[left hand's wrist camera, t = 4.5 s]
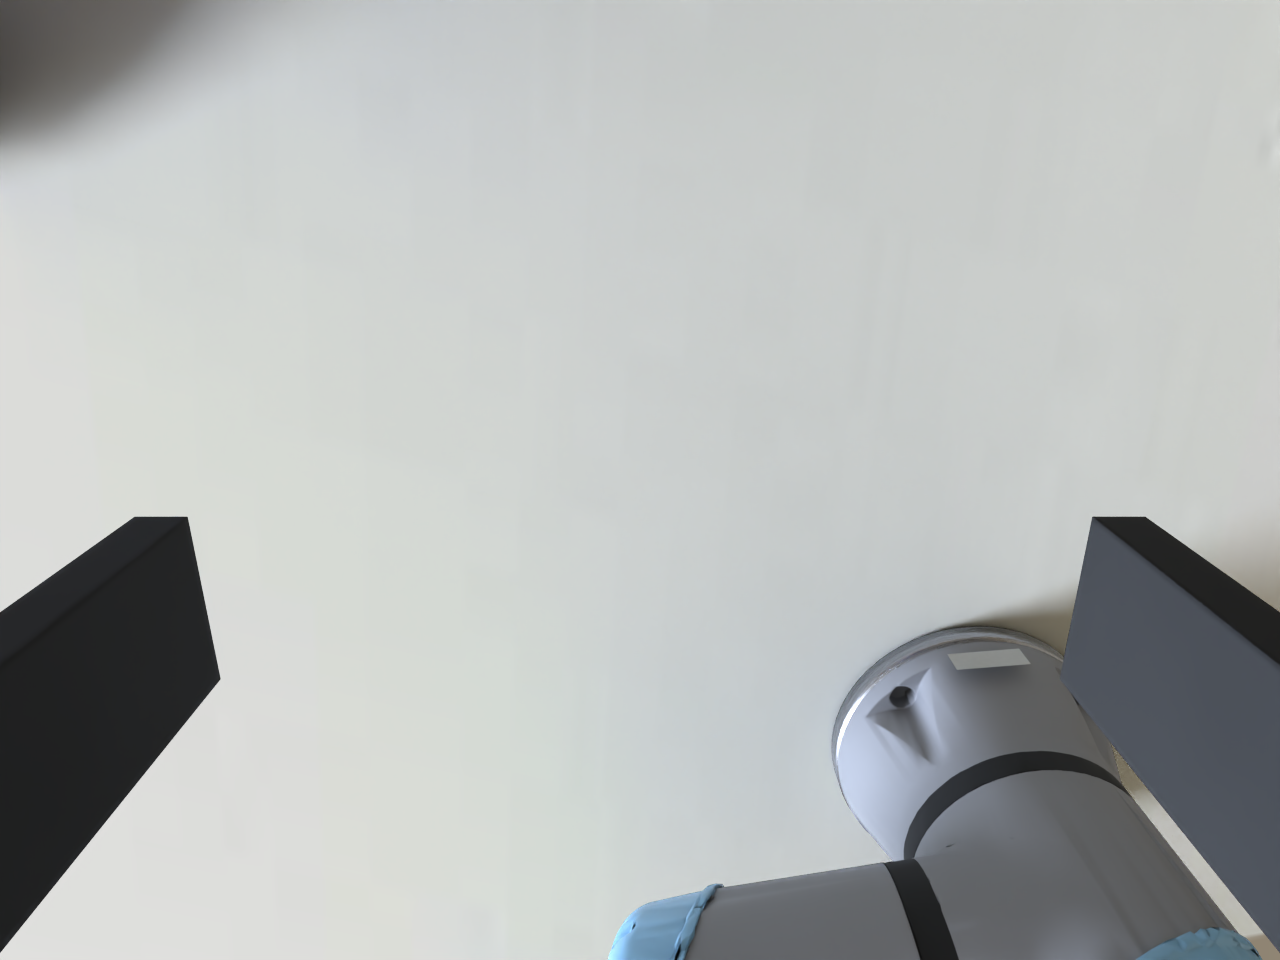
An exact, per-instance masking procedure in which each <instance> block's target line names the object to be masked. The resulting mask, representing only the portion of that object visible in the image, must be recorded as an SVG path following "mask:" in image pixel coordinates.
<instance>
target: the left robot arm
mask: <svg viewBox="0 0 1280 960" xmlns="http://www.w3.org/2000/svg"><path fill="white" fill-rule="evenodd" d="M219 680H220V674H219V669H218V664H217V660H216V655H215V650H214V645H213V640H212V635H211V630H210V625H209V620H208V615H207V610H206V605H205V600H204V596H203V591H202V586H201V581H200V576H199V571H198V566H197V561H196V556H195V551H194V546H193V541H192V536H191V532H190V527H189V522H188V517H134V518H132V519H131V520H130V521H128V522H127V523H125V524H124V525H123V526H121V527H120V528H118V529H117V530H116V531H114V532H113V533H111V534H110V535H108V536H107V537H106V538H104V539H103V540H101V541H100V542H99V543H97V544H96V545H94V546H93V547H92V548H90V549H89V550H87V551H86V552H85V553H83V554H82V555H80V556H79V557H77V558H76V559H75V560H73V561H72V562H70V563H69V564H68V565H66V566H65V567H63V568H62V569H61V570H59V571H58V572H56V573H55V574H54V575H52V576H51V577H49V578H48V579H47V580H45V581H44V582H42V583H41V584H39V585H38V586H37V587H35V588H34V589H32V590H31V591H30V592H28V593H27V594H25V595H24V596H23V597H21V598H20V599H18V600H17V601H16V602H14V603H13V604H11V605H10V606H9V607H7V608H6V609H4V610H3V611H1V612H0V952H1V951H2V950H3V949H4V947H5V946H6V945H7V944H8V942H9V941H10V940H11V939H12V937H13V936H14V935H15V934H16V932H17V931H18V930H19V929H20V927H21V926H22V925H23V924H24V923H25V921H26V920H27V919H28V918H29V916H30V915H31V914H32V913H33V911H34V910H35V909H36V908H37V906H38V905H39V904H40V903H41V901H42V900H43V899H44V898H45V896H46V895H47V894H48V893H49V891H50V890H51V889H52V888H53V886H54V885H55V884H56V883H57V882H58V880H59V879H60V878H61V877H62V875H63V874H64V873H65V872H66V870H67V869H68V868H69V867H70V865H71V864H72V863H73V862H74V860H75V859H76V858H77V857H78V855H79V854H80V853H81V852H82V850H83V849H84V848H85V847H86V846H87V844H88V843H89V842H90V841H91V839H92V838H93V837H94V836H95V834H96V833H97V832H98V831H99V829H100V828H101V827H102V826H103V824H104V823H105V822H106V821H107V819H108V818H109V817H110V816H111V814H112V813H113V812H114V811H115V809H116V808H117V807H118V806H119V805H120V803H121V802H122V801H123V800H124V798H125V797H126V796H127V795H128V793H129V792H130V791H131V790H132V788H133V787H134V786H135V785H136V783H137V782H138V781H139V780H140V778H141V777H142V776H143V775H144V773H145V772H146V771H147V770H148V768H149V767H150V766H151V765H152V764H153V762H154V761H155V760H156V759H157V757H158V756H159V755H160V754H161V752H162V751H163V750H164V749H165V747H166V746H167V745H168V744H169V742H170V741H171V740H172V739H173V737H174V736H175V735H176V734H177V732H178V731H179V730H180V729H181V727H182V726H183V725H184V724H185V723H186V721H187V720H188V719H189V718H190V716H191V715H192V714H193V713H194V711H195V710H196V709H197V708H198V706H199V705H200V704H201V703H202V701H203V700H204V699H205V698H206V696H207V695H208V694H209V693H210V691H211V690H212V689H213V688H214V687H215V685H216V684H217V683H218V682H219ZM1111 744H1112V745H1113V746H1114V747H1115V749H1116V750H1117V751H1118V752H1119V754H1120V755H1121V756H1122V757H1123V759H1124V760H1125V761H1126V762H1127V764H1128V765H1129V766H1130V767H1131V768H1132V770H1133V771H1134V772H1135V773H1136V775H1137V776H1138V777H1139V778H1140V780H1141V781H1142V782H1143V783H1144V785H1145V786H1146V787H1147V788H1148V790H1149V791H1150V792H1151V793H1152V795H1153V796H1154V797H1155V798H1156V800H1157V801H1158V802H1159V803H1160V805H1161V806H1162V807H1163V808H1164V809H1165V811H1166V812H1167V813H1168V814H1169V816H1170V817H1171V818H1172V819H1173V821H1174V822H1175V823H1176V824H1177V826H1178V827H1179V828H1180V829H1181V831H1182V832H1183V833H1184V834H1185V836H1186V837H1187V838H1188V839H1189V841H1190V842H1191V843H1192V844H1193V846H1194V847H1195V848H1196V849H1197V850H1198V852H1199V853H1200V854H1201V855H1202V857H1203V858H1204V859H1205V860H1206V862H1207V863H1208V864H1209V865H1210V867H1211V868H1212V869H1213V870H1214V872H1215V873H1216V874H1217V875H1218V877H1219V878H1220V879H1221V880H1222V882H1223V883H1224V884H1225V885H1226V886H1227V888H1228V889H1229V890H1230V891H1231V893H1232V894H1233V895H1234V896H1235V898H1236V899H1237V900H1238V901H1239V903H1240V904H1241V905H1242V906H1243V908H1244V909H1245V910H1246V911H1247V913H1248V914H1249V915H1250V916H1251V918H1252V919H1253V920H1254V921H1255V923H1256V924H1257V925H1258V926H1259V927H1260V929H1261V930H1262V931H1263V932H1264V934H1265V935H1266V936H1267V937H1268V939H1269V940H1270V941H1271V942H1272V944H1273V945H1274V946H1275V947H1276V949H1277V950H1278V951H1279V952H1280V612H1279V611H1277V610H1276V609H1274V608H1273V607H1271V606H1270V605H1269V604H1267V603H1266V602H1264V601H1263V600H1262V599H1260V598H1259V597H1257V596H1256V595H1255V594H1253V593H1252V592H1250V591H1249V590H1248V589H1246V588H1245V587H1243V586H1242V585H1241V584H1239V583H1238V582H1236V581H1235V580H1233V579H1232V578H1231V577H1229V576H1228V575H1226V574H1225V573H1224V572H1222V571H1221V570H1219V569H1218V568H1217V567H1215V566H1214V565H1212V564H1211V563H1210V562H1208V561H1207V560H1205V559H1204V558H1203V557H1201V556H1200V555H1198V554H1197V553H1195V552H1194V551H1193V550H1191V549H1190V548H1188V547H1187V546H1186V545H1184V544H1183V543H1181V542H1180V541H1179V540H1177V539H1176V538H1174V537H1173V536H1172V535H1170V534H1169V533H1167V532H1166V531H1164V530H1163V529H1162V528H1160V527H1159V526H1157V525H1156V524H1155V523H1153V522H1152V521H1150V520H1149V519H1148V518H1146V517H1092V522H1091V527H1090V532H1089V536H1088V541H1087V546H1086V551H1085V556H1084V561H1083V566H1082V571H1081V576H1080V581H1079V586H1078V591H1077V596H1076V600H1075V605H1074V610H1073V615H1072V620H1071V625H1070V630H1069V635H1068V640H1067V645H1066V650H1065V655H1064V657H1063V656H1062V655H1061V654H1060V653H1059V652H1057V651H1056V650H1055V649H1053V648H1052V647H1050V646H1049V645H1047V644H1045V643H1044V642H1042V641H1040V640H1038V639H1036V638H1034V637H1031V636H1029V635H1026V634H1023V633H1020V632H1017V631H1013V630H1008V629H1003V628H996V627H982V626H975V627H961V628H953V629H948V630H943V631H938V632H935V633H932V634H928V635H925V636H922V637H920V638H917V639H915V640H912V641H910V642H908V643H906V644H904V645H902V646H900V647H898V648H897V649H895V650H893V651H892V652H890V653H889V654H887V655H886V656H884V657H883V658H882V659H880V660H879V661H878V662H876V663H875V664H874V665H873V666H872V667H871V668H869V669H868V670H867V671H866V672H865V673H864V674H863V675H862V677H861V678H860V679H859V680H858V681H857V682H856V684H855V685H854V686H853V687H852V689H851V690H850V692H849V693H848V695H847V696H846V698H845V700H844V702H843V704H842V706H841V708H840V710H839V713H838V715H837V718H836V722H835V725H834V729H833V736H832V760H833V764H834V769H835V772H836V776H837V779H838V782H839V785H840V788H841V791H842V794H843V796H844V798H845V801H846V803H847V805H848V806H849V808H850V809H851V811H852V812H853V814H854V816H855V817H856V819H857V820H858V822H859V823H860V824H861V825H862V826H863V828H864V829H865V830H866V831H867V832H868V833H869V834H871V836H872V837H873V838H874V839H875V840H876V842H877V843H878V844H879V845H880V846H881V848H882V849H883V850H884V851H885V852H886V854H887V855H888V856H889V857H890V858H891V859H892V860H893V862H887V863H877V864H870V865H864V866H858V867H851V868H845V869H838V870H832V871H826V872H819V873H813V874H807V875H800V876H794V877H787V878H781V879H775V880H768V881H762V882H756V883H749V884H743V885H736V886H729V887H724V886H723V884H712V885H709V886H707V887H706V888H705V889H704V890H703V891H699V892H695V893H690V894H686V895H681V896H677V897H672V898H668V899H663V900H659V901H654V902H650V903H647V904H645V905H643V906H641V907H639V908H638V909H636V910H635V911H634V912H633V913H631V914H630V915H629V916H628V918H627V919H626V920H625V921H624V923H623V925H622V926H621V928H620V929H619V931H618V933H617V935H616V938H615V940H614V943H613V946H612V950H611V952H610V954H609V958H608V960H1262V958H1261V957H1260V955H1259V953H1258V951H1257V950H1256V949H1255V948H1254V946H1253V945H1252V944H1251V942H1250V941H1249V940H1247V939H1246V938H1245V937H1243V936H1241V935H1240V934H1239V933H1238V932H1237V931H1236V929H1235V928H1234V927H1233V926H1232V924H1231V923H1230V922H1229V920H1228V919H1227V918H1226V917H1225V915H1224V914H1223V913H1222V912H1221V910H1220V909H1219V908H1218V906H1217V905H1216V904H1215V903H1214V901H1213V900H1212V899H1211V897H1210V896H1209V895H1208V894H1207V892H1206V891H1205V890H1204V889H1203V887H1202V886H1201V885H1200V883H1199V882H1198V881H1197V880H1196V878H1195V877H1194V876H1193V874H1192V873H1191V872H1190V871H1189V869H1188V868H1187V867H1186V866H1185V864H1184V863H1183V862H1182V860H1181V859H1180V858H1179V857H1178V855H1177V854H1176V853H1175V851H1174V850H1173V849H1172V848H1171V846H1170V845H1169V844H1168V843H1167V841H1166V840H1165V839H1164V837H1163V836H1162V835H1161V834H1160V832H1159V831H1158V830H1157V828H1156V827H1155V826H1154V825H1153V823H1152V822H1151V821H1150V820H1149V818H1148V817H1147V816H1146V814H1145V813H1144V812H1143V811H1142V809H1141V808H1140V807H1139V806H1138V805H1137V803H1136V802H1135V801H1134V800H1133V798H1132V797H1131V796H1130V794H1129V793H1128V792H1127V790H1126V789H1125V788H1124V786H1123V785H1122V783H1121V779H1120V776H1119V772H1118V768H1117V764H1116V761H1115V757H1114V753H1113V750H1112V746H1111Z"/></svg>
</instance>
